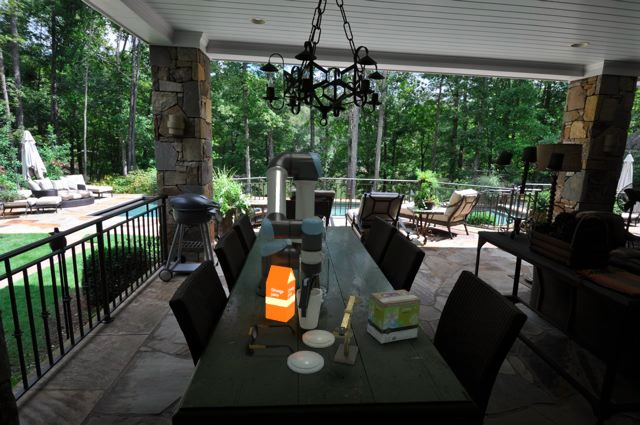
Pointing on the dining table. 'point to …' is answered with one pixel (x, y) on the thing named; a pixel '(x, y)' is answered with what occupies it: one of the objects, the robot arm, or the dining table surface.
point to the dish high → (318, 338)
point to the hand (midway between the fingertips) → (309, 317)
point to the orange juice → (280, 293)
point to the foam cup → (312, 307)
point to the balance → (346, 333)
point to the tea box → (393, 315)
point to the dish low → (305, 362)
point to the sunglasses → (254, 333)
